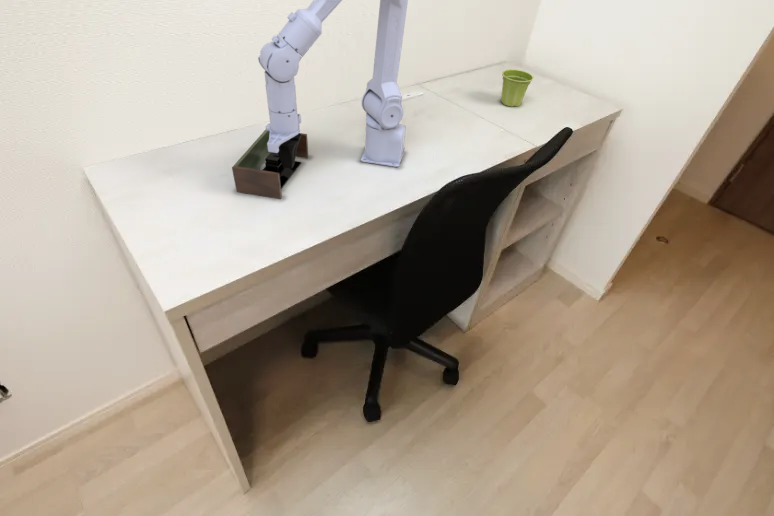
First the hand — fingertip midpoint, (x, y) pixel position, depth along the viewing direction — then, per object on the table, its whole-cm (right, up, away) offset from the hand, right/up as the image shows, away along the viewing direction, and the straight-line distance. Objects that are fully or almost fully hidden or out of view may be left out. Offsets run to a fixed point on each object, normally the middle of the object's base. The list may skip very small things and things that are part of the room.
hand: (288, 166), depth 100 cm
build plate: (-3, -1, +2) cm, 4 cm away
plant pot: (+61, +28, +41) cm, 78 cm away
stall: (-4, -1, +2) cm, 4 cm away
